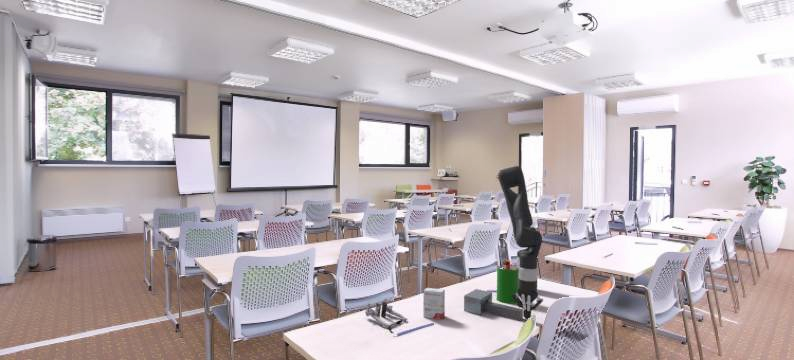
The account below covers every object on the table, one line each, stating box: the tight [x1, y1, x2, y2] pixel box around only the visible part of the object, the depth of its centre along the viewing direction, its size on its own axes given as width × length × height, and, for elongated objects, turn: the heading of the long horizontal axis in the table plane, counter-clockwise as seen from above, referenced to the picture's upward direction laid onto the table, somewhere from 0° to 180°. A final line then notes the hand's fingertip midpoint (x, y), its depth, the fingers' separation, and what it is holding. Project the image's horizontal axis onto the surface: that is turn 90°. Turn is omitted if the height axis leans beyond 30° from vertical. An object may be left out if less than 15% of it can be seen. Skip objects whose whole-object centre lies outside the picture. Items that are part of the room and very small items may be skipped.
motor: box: [496, 259, 519, 304], centre depth 197 cm, size 10×9×20 cm
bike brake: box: [364, 297, 409, 334], centre depth 169 cm, size 14×7×20 cm
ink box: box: [422, 287, 446, 320], centre depth 175 cm, size 9×5×12 cm, turn 71°
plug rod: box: [484, 301, 524, 322], centre depth 179 cm, size 4×20×4 cm, turn 53°
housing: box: [463, 288, 493, 316], centre depth 185 cm, size 12×8×7 cm, turn 143°
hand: (527, 318), depth 171 cm, fingers closed
